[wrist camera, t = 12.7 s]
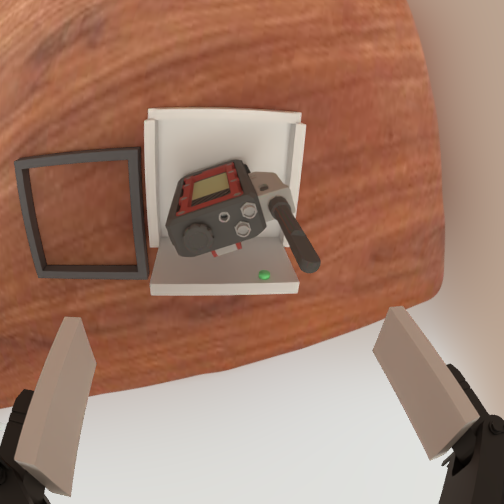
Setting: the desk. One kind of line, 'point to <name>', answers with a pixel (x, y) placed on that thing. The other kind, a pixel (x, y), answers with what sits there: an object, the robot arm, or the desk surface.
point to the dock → (207, 155)
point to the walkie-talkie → (233, 212)
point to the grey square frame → (136, 198)
